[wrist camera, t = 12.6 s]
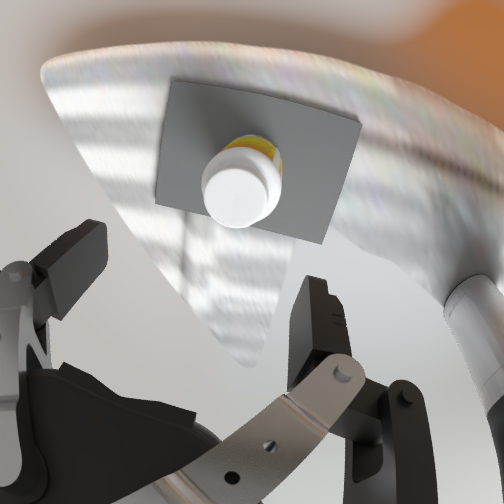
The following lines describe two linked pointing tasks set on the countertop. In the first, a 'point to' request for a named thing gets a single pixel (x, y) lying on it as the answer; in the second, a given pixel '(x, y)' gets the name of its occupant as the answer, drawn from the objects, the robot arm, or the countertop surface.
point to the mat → (268, 126)
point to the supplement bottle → (243, 181)
